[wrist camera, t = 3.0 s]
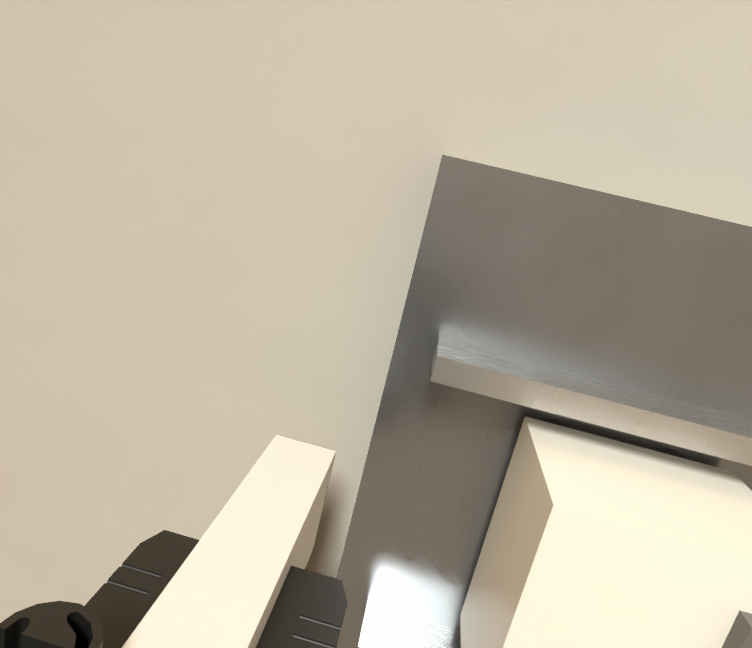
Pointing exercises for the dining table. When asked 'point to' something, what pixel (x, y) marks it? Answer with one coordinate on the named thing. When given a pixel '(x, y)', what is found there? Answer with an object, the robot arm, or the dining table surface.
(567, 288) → the panel
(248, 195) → the dining table surface
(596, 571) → the block
